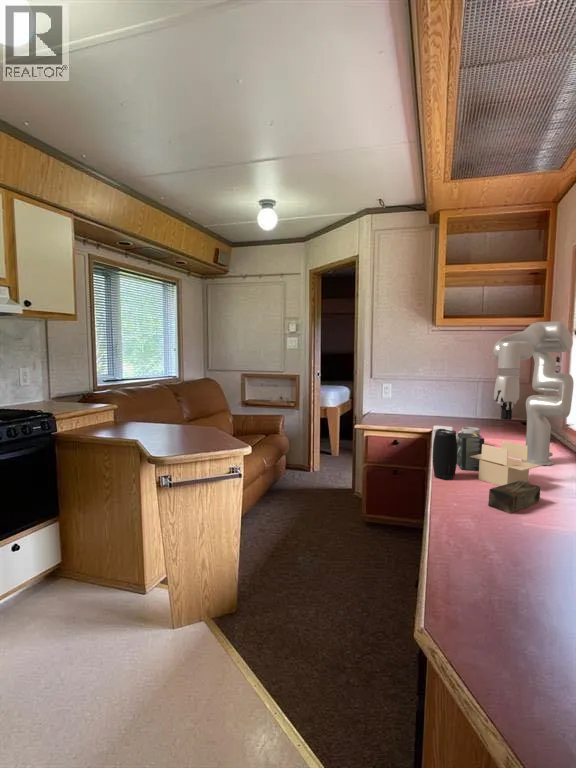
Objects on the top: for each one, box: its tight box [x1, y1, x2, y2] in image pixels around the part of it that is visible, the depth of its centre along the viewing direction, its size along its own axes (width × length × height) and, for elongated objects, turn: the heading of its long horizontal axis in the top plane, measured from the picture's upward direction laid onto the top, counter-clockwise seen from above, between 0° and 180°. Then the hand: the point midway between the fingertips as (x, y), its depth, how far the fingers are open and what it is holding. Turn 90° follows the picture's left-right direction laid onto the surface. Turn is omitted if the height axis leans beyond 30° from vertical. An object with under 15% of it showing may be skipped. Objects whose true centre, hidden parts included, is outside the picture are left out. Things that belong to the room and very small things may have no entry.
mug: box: [456, 426, 481, 438], centre depth 220 cm, size 11×10×10 cm
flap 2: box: [501, 440, 528, 461], centre depth 165 cm, size 6×11×1 cm
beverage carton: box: [487, 481, 541, 514], centre depth 138 cm, size 8×19×7 cm, turn 122°
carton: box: [470, 454, 542, 487], centre depth 162 cm, size 14×22×8 cm, turn 30°
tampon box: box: [456, 432, 485, 472], centre depth 181 cm, size 11×9×15 cm
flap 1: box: [481, 443, 509, 465], centre depth 158 cm, size 6×11×1 cm
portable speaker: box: [432, 429, 458, 481], centre depth 167 cm, size 9×9×20 cm
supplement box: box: [431, 425, 454, 460], centre depth 197 cm, size 9×9×15 cm
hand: (506, 419), depth 161 cm, fingers closed
